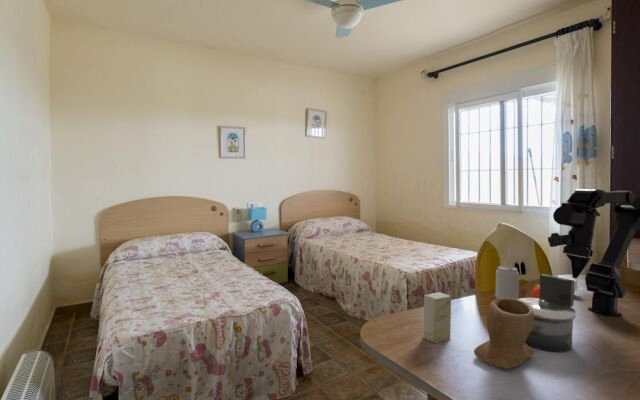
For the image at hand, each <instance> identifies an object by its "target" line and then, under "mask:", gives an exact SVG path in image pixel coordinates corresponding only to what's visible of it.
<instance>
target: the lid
mask: <svg viewBox="0 0 640 400" xmlns="http://www.w3.org/2000/svg"><path fill="white" fill-rule="evenodd" d="M569 279H570V278H565V279H564V278H563V277H559V276H558V277H555V275H550V274H545V273H542V274H540V275H539V285H540V294H539V298H532V297H522V298H521V297H520V298H518V300H520V301H522V302H524V303H526V304H527V305H529V306H530V307H531V308H532V309H533V312H534V318H538V319H543V320H549V321H570V320H573V321H574V320H575V319H576V313H577V312H576V310H575V309H574V308H573V307H574V301H575V299H574V297H575V296H574V295H575V293H574V280H575V279H573V280H569Z"/></svg>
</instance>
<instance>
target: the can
mask: <svg viewBox="0 0 640 400" xmlns="http://www.w3.org/2000/svg"><path fill="white" fill-rule="evenodd" d="M519 286H520V272H519V270H518V268H517V267H515V266H510V265H509V266H508V265H500V266H497V269H496V270H495V294H494V295H495V296H494V297H495V299H497V298H502V297H508V298H514V299H519V292H520V291H519V289H520V287H519Z"/></svg>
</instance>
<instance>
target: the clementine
mask: <svg viewBox="0 0 640 400" xmlns="http://www.w3.org/2000/svg"><path fill="white" fill-rule="evenodd" d="M529 288H530V289H529V290H531V289H532V288H533V289H532V290H531V293H530V295H531V298H539V294H540V284H534V285H532V286H531V287H529Z"/></svg>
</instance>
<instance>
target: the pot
mask: <svg viewBox="0 0 640 400" xmlns="http://www.w3.org/2000/svg"><path fill="white" fill-rule="evenodd" d="M573 329H574V319H573V320H570V321H549V320H543V319H538V318H534V322H533V327H532V329H531V331H530V333H529V335H528V337H527V339H526V342H525V343H526V344H527V345H528V346H529V347H531V348H532V349H536V350H538V351H544V352H549V353H567V352H569V351H571V350H572V349H573V331H574V330H573Z"/></svg>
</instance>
